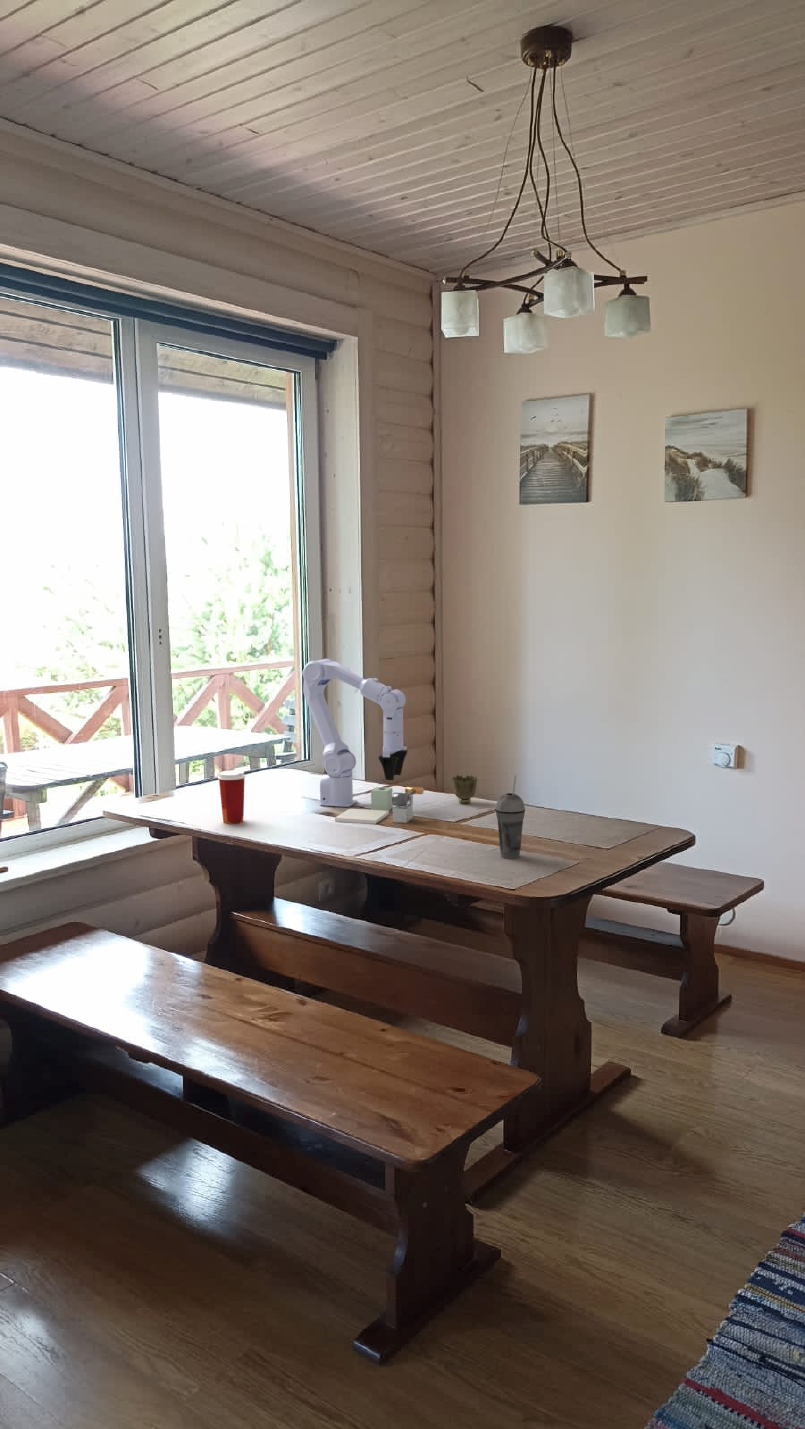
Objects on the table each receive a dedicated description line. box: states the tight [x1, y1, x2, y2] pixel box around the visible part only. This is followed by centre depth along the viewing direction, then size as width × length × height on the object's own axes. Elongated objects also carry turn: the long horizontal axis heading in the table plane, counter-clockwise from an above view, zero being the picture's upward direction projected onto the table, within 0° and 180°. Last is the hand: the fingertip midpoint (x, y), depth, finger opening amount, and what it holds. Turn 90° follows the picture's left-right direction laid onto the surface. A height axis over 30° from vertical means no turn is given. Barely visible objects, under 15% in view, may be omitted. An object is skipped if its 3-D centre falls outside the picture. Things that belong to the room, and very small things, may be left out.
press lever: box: [392, 786, 425, 807], centre depth 285 cm, size 5×17×4 cm, turn 163°
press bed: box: [334, 807, 390, 825], centre depth 285 cm, size 12×12×1 cm
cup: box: [452, 774, 478, 805], centre depth 302 cm, size 8×7×8 cm
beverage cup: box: [494, 775, 526, 860], centre depth 243 cm, size 7×7×20 cm
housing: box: [370, 786, 394, 812], centre depth 296 cm, size 5×5×6 cm
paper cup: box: [217, 769, 246, 825], centre depth 282 cm, size 8×8×14 cm
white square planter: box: [392, 794, 414, 824], centre depth 281 cm, size 4×6×7 cm
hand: (393, 777), depth 295 cm, fingers open, 7 cm apart
